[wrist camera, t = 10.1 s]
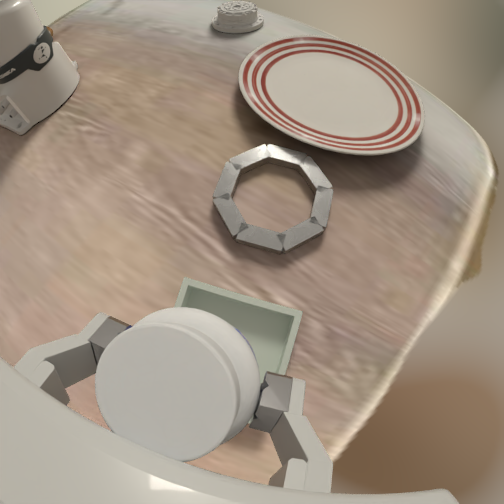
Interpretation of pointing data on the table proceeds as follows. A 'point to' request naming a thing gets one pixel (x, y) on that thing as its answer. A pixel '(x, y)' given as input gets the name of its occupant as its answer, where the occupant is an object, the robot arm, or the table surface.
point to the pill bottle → (178, 383)
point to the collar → (264, 236)
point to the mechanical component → (237, 17)
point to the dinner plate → (332, 95)
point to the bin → (248, 321)
